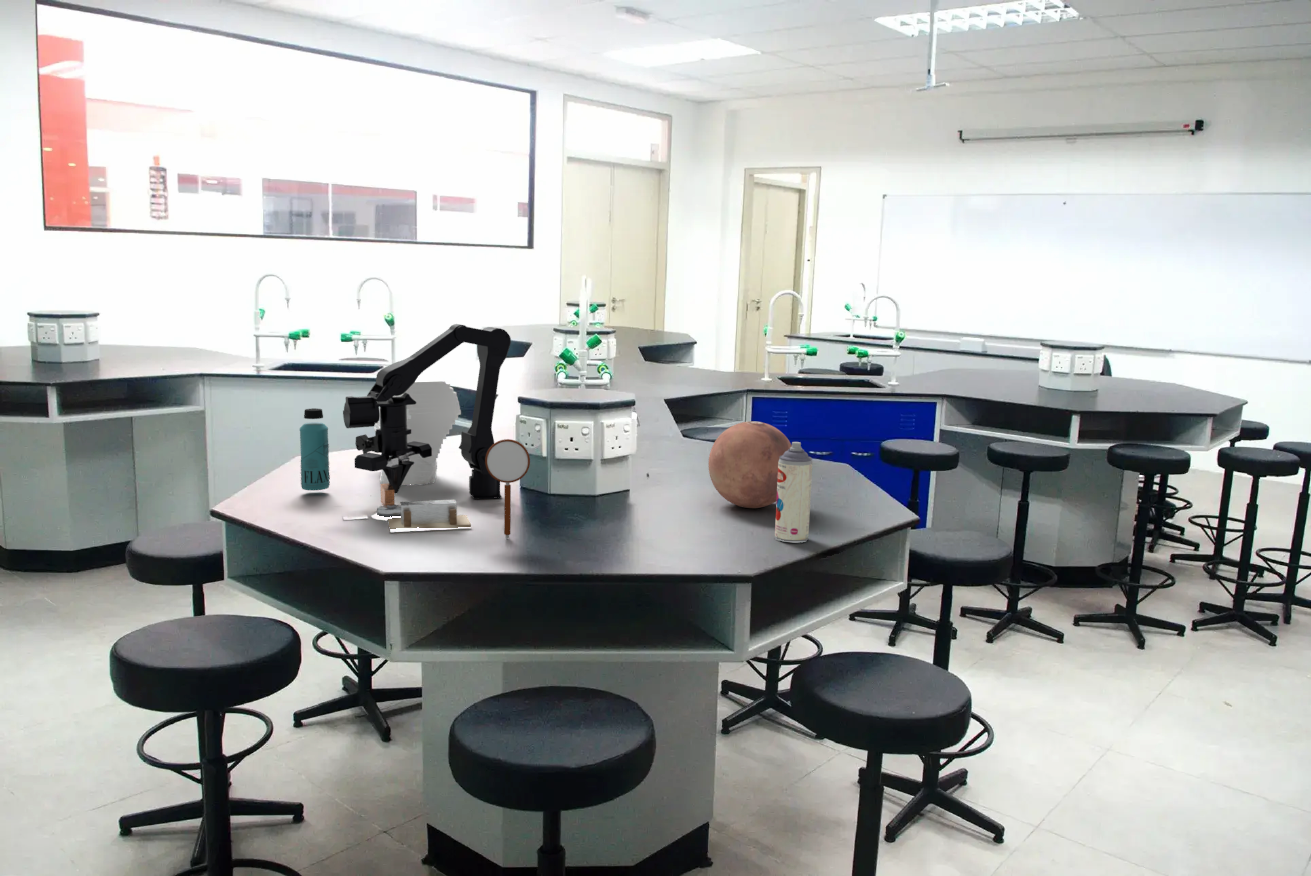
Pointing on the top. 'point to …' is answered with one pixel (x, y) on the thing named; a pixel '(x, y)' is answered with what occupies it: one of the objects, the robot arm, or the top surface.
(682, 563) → the top surface
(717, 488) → the planet model
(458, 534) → the top surface
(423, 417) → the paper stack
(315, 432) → the beverage bottle
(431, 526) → the rack
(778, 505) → the aerosol can
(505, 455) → the magnifying glass
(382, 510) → the wooden building block
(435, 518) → the bar
